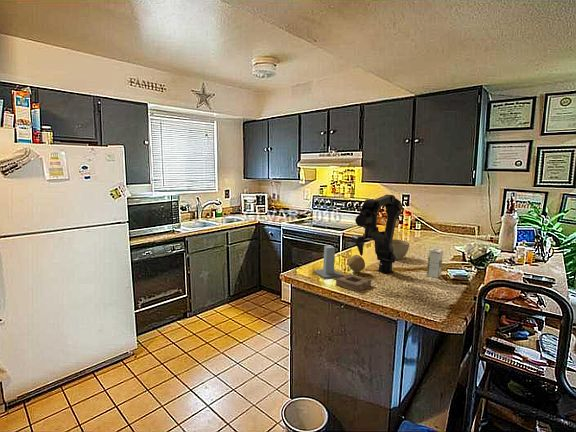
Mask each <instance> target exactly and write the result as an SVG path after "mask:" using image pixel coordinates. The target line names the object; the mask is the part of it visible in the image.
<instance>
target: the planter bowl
mask: <svg viewBox="0 0 576 432" xmlns="http://www.w3.org/2000/svg"><path fill="white" fill-rule="evenodd" d="M410 245H411V243H410V242H409V241H407V240H402V239H393V240H392V246H393V249H394V251H393V253H394V255H395V257H396V260H395V261H399V260H403V259H404V257H405V256H406V254H407V253H408V251H409V248H410Z"/></svg>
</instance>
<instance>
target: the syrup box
mask: <svg viewBox="0 0 576 432" xmlns="http://www.w3.org/2000/svg"><path fill="white" fill-rule="evenodd" d="M443 255H444V250H443V249H439V248H431V249H429V251H428V259H427V267H426V268H427V269H426V276H427V277H429V278H435V279H438V278H440V277H441V273H442V268H443V267H442V266H443Z"/></svg>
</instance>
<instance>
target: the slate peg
mask: <svg viewBox="0 0 576 432" xmlns="http://www.w3.org/2000/svg"><path fill="white" fill-rule="evenodd" d="M335 250H336V247H334V246H333V245H324V246H323V267H322V270H323V272H324V273H325V274H334V270H335V258H336V257H335V255H336V253H335V252H336V251H335Z"/></svg>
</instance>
